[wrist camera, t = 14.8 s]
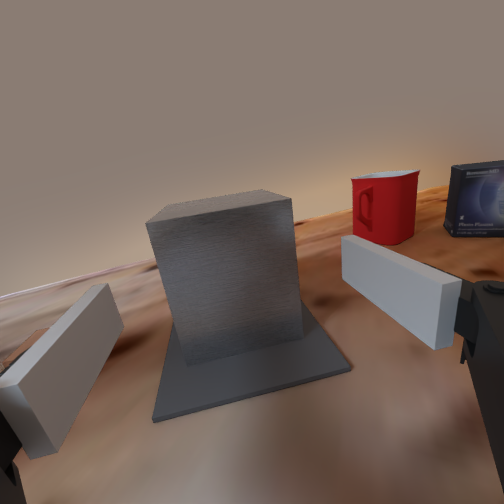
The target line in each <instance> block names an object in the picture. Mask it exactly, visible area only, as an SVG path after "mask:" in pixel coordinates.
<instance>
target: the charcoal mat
mask: <svg viewBox="0 0 504 504" xmlns="http://www.w3.org/2000/svg"><path fill="white" fill-rule="evenodd" d="M300 300H301V299H300ZM301 311H302V322H303V333H304V339H301V340H296V341H292V342H288V343H284V344H280V345H276V346H272V347H268V348H263V349H259V350H255V351H251V352H247V353H243V354H239V355H234V356H230V357H226V358H222V359H218V360H214V361H210V362H206V363H201V364H197V365H193V366H189V367H187V365H186V362H185V358H184V355H183V352H182V348H181V345H180V341H179V338H178V334H177V331H176V327H175V324H174V322H173V326H172V331H171V335H170V340H169V344H168V349H167V353H166V358H165V362H164V367H163V371H162V376H161V380H160V385H159V389H158V394H157V398H156V403H155V407H154V412H153V416H152V420H153V423H155V422H159V421H163V420H167V419H171V418H174V417H178V416H182V415H186V414H189V413H193V412H197V411H201V410H205V409H208V408H212V407H216V406H220V405H223V404H227V403H231V402H235V401H238V400H242V399H246V398H250V397H254V396H257V395H261V394H265V393H269V392H272V391H276V390H280V389H284V388H288V387H291V386H295V385H299V384H303V383H306V382H310V381H314V380H318V379H321V378H325V377H329V376H333V375H337V374H340V373H344V372H348V371H351V366H350V365H349V364H348V362H347V361H346V360H345V358H344V357H343V356H342V354H341V353H340V351H339V350H338V349H337V347H336V346H335V345H334V343H333V342H332V341H331V339H330V338H329V337H328V335H327V334H326V333H325V331H324V330H323V329H322V327H321V326H320V325H319V323H318V322H317V321H316V319H315V318H314V317H313V315H312V314H311V313H310V311H309V310H308V308H307V307H306V306H305V304H304V303H303V302H302V300H301Z"/></svg>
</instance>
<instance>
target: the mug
mask: <svg viewBox="0 0 504 504" xmlns="http://www.w3.org/2000/svg"><path fill="white" fill-rule="evenodd" d="M419 172H420V170H405V171H390V172H378V173H370V174H366V175H362V176H358V177H354V178H351V180H352V185H353V235H355V236H358V237H360V238H363V239H365V240H367V241H370V242H372V243H376V244H382V245H396V244H399V243H401V242H402V241H404V240H406V239H408V238H409V237H411V236H413V234H414V225H415V212H416V198H417V184H418V175H419Z"/></svg>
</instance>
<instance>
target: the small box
mask: <svg viewBox="0 0 504 504" xmlns="http://www.w3.org/2000/svg"><path fill="white" fill-rule="evenodd" d="M443 226H444V227H445V228H446V230H447V231H448V232H449V234H450V235H451V236H452V237H504V160H501V161H492V162H483V163H472V164H462V165H453V166H452V167H451V178H450V185H449V192H448V199H447V207H446V215H445V221H444V224H443Z"/></svg>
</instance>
